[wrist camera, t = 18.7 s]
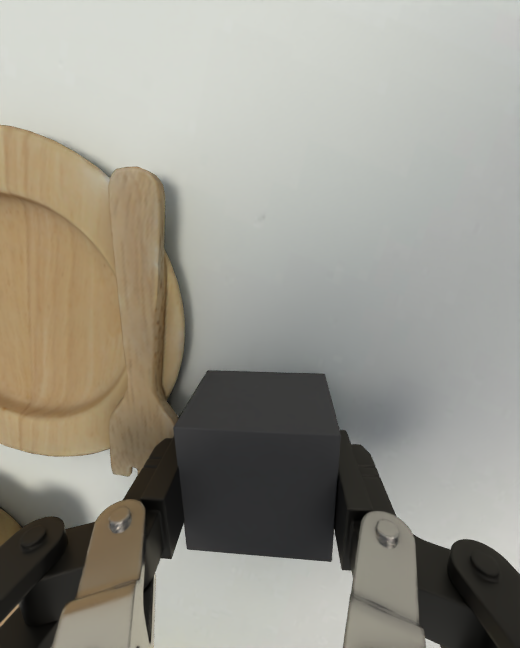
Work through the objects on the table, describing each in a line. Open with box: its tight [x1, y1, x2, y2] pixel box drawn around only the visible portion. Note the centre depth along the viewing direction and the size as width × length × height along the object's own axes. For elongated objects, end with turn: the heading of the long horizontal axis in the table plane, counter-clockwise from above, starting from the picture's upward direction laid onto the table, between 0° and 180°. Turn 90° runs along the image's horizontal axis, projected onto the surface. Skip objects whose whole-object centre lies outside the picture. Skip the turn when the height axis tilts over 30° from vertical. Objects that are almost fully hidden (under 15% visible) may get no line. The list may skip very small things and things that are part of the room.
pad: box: [173, 371, 341, 562], centre depth 11 cm, size 5×5×4 cm
